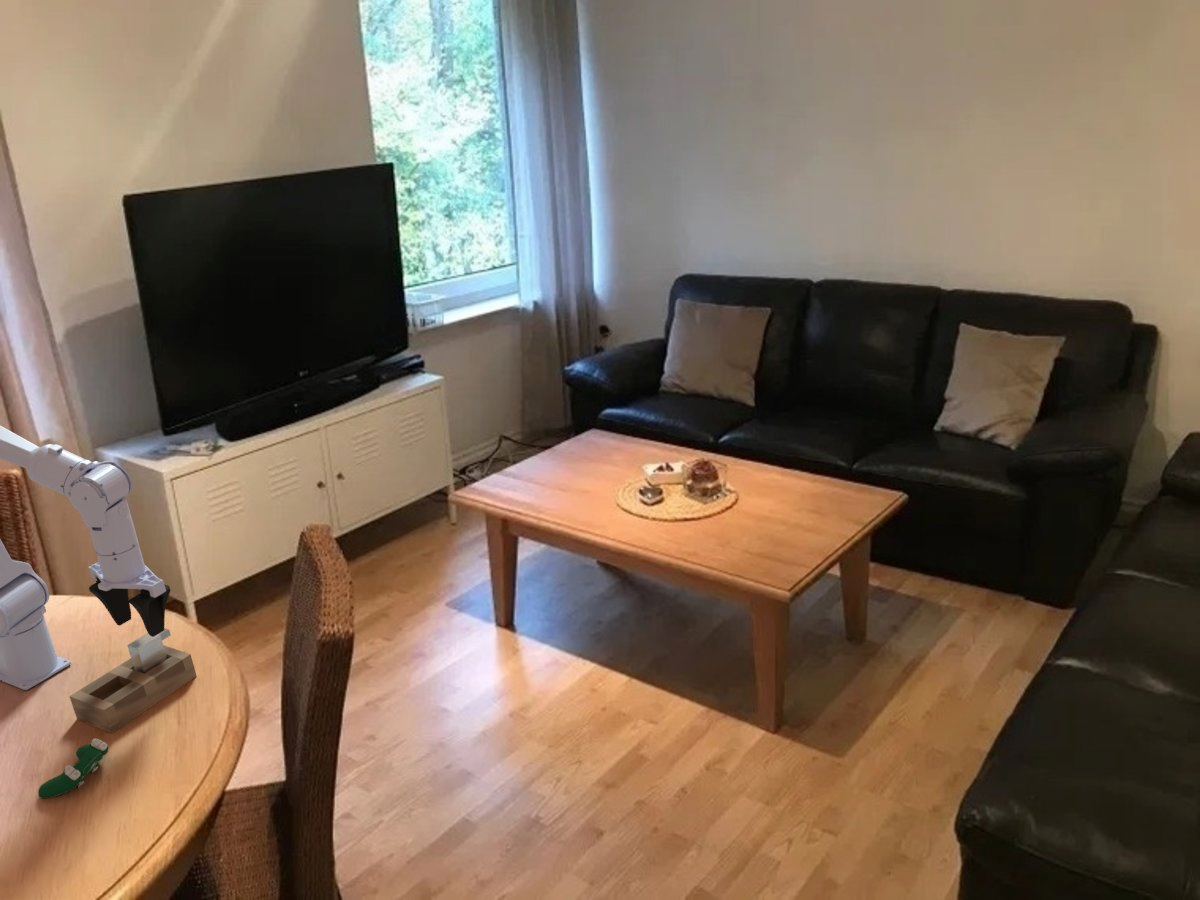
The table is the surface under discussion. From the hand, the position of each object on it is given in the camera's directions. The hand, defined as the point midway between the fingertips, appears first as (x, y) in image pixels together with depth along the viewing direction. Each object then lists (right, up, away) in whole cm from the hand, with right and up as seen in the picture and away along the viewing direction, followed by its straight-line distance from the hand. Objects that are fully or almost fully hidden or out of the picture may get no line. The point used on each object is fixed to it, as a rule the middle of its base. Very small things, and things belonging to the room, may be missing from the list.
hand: (140, 627), depth 157 cm
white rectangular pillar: (+1, -8, +3) cm, 9 cm away
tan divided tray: (-1, -11, +1) cm, 11 cm away
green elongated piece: (-1, -18, -16) cm, 24 cm away
